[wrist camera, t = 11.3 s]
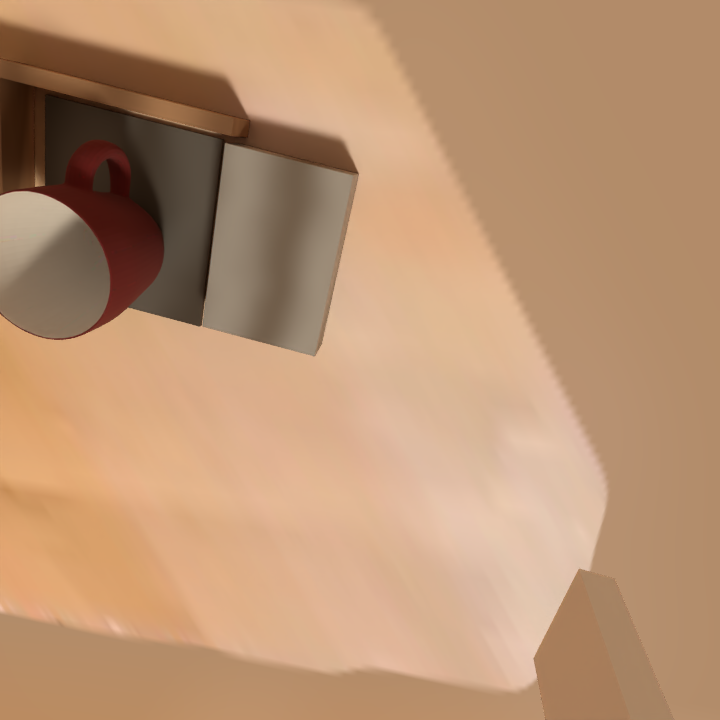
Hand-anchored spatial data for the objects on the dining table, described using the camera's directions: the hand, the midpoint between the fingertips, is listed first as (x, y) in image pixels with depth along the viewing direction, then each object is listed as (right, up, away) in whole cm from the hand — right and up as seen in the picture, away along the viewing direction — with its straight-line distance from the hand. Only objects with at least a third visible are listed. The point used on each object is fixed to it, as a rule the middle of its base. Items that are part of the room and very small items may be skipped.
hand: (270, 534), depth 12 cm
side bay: (-11, +14, +25) cm, 30 cm away
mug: (-13, +14, +25) cm, 32 cm away
